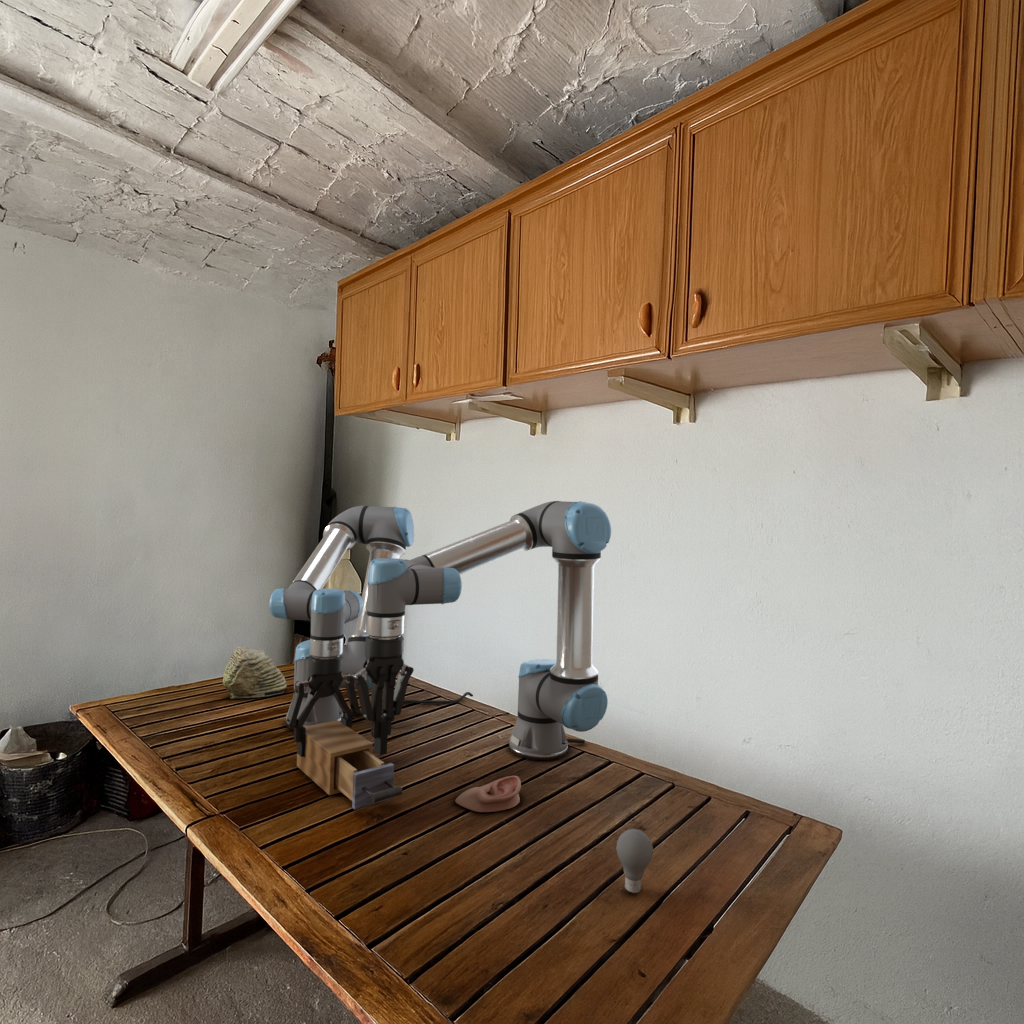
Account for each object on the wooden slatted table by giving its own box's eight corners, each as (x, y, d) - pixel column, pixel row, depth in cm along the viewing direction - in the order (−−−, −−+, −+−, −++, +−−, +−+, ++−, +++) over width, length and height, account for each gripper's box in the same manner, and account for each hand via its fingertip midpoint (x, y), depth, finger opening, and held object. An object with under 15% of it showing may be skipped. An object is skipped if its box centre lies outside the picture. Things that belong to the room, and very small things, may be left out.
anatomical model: (451, 789, 131) (466, 766, 142) (450, 808, 131) (465, 784, 142) (514, 798, 128) (524, 774, 139) (513, 817, 128) (523, 792, 139)
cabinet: (371, 783, 141) (373, 743, 140) (329, 795, 134) (330, 753, 134) (336, 756, 155) (337, 719, 154) (296, 766, 148) (297, 727, 148)
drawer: (407, 809, 128) (408, 774, 128) (368, 821, 122) (369, 785, 122) (356, 769, 145) (357, 739, 145) (319, 779, 140) (320, 747, 139)
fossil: (218, 695, 195) (220, 647, 195) (278, 685, 208) (279, 640, 207) (228, 703, 189) (230, 653, 188) (289, 692, 201) (290, 645, 201)
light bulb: (610, 879, 108) (613, 822, 108) (644, 879, 109) (647, 822, 109) (619, 902, 102) (622, 840, 102) (655, 901, 103) (658, 840, 103)
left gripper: (284, 665, 138) (280, 766, 139) (377, 653, 153) (373, 744, 153) (272, 658, 144) (268, 755, 145) (363, 646, 159) (359, 735, 159)
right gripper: (363, 643, 120) (358, 766, 121) (422, 635, 128) (417, 751, 129) (346, 635, 126) (341, 753, 126) (403, 629, 134) (399, 739, 135)
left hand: (322, 749), depth 149 cm, fingers closed on cabinet, 10 cm apart
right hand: (380, 752), depth 128 cm, fingers closed
